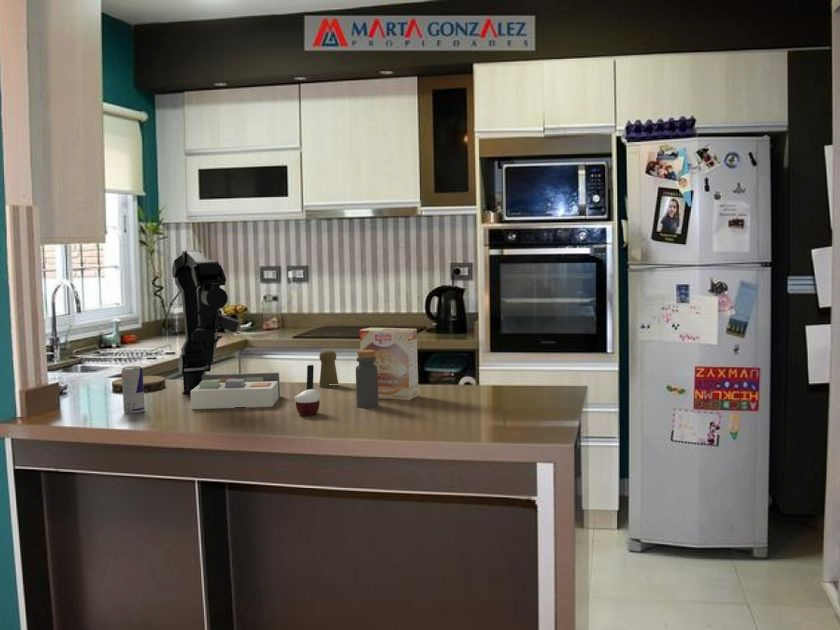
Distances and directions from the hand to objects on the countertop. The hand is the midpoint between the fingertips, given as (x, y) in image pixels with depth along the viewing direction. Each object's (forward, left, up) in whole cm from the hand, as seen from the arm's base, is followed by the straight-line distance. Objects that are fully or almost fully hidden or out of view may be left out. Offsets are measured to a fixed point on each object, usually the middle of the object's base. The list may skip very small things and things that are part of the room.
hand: (211, 362), depth 232 cm
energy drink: (-20, -7, -12) cm, 24 cm away
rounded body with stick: (+28, -17, -12) cm, 35 cm away
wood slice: (-30, +30, -12) cm, 44 cm away
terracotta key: (+13, 0, -10) cm, 17 cm away
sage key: (-1, 0, -9) cm, 9 cm away
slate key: (+6, 0, -9) cm, 11 cm away
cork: (+30, +24, -12) cm, 40 cm away
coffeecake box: (+49, +3, -12) cm, 51 cm away
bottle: (+43, -9, -12) cm, 46 cm away
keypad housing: (+6, +1, -12) cm, 13 cm away
